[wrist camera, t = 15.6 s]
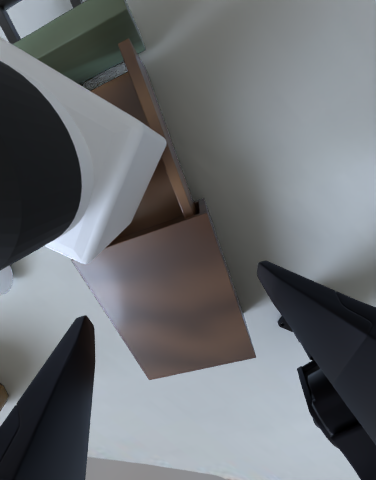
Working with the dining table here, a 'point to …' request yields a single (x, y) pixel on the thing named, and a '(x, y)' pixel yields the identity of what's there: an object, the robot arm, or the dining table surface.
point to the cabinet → (171, 297)
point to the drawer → (112, 90)
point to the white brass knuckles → (6, 280)
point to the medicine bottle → (65, 163)
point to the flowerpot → (2, 396)
